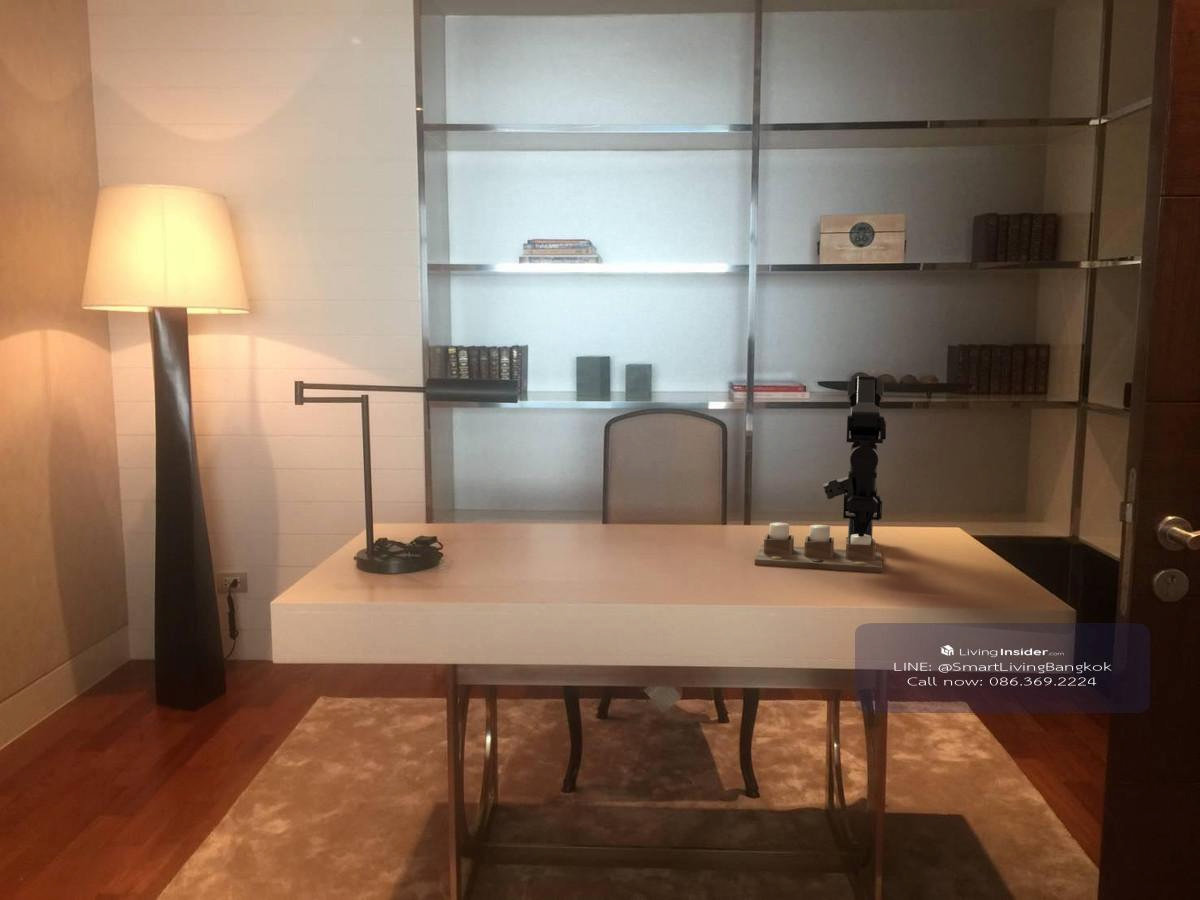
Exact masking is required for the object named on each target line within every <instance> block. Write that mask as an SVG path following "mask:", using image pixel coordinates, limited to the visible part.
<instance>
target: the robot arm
mask: <svg viewBox="0 0 1200 900" xmlns="http://www.w3.org/2000/svg"><path fill="white" fill-rule="evenodd" d="M883 400H884V382H883V381H881V380H879V379H878V377H877V376H875V375H857V376H855V378H854V379H853V380H851V381H848V382H847V402H849V405H850V407H849V408H850V414H849V415H847V419H846V420H847V421H846V424H847V425H846V443H851V446H850V457H849V461H850V462H849V463H850V464H849V470H848V476H845V477H841V478H837V479H836V478H834V479H832V480H828V482H825V483H823V486H822V487H823V490H824V493H825V495H826V498H827V500H832V499H834V498H835V497H840V496H842V495H843V514H842V516H843V519H845V520H846V519H848V527H847V528H848V530H847V532H848V533H847V537H846V539H845V541H846V540H847V538H849V539H851V535H852V534H858V536H864V534H865V535H870V536H871V540H875V539H874V538H873V527H874V524H873V523H874V521H879V520H882V514H883V500H881V497H880V496H881V495H878V487H877V477H878V470H877V469H878V464H879V455H878V449H879V448H878V446H877V444H883V443H884V440H886V439H887V438H886V436H887V421H886V420H885V417H884V415H881V409H880V406H881V403H882V402H884V401H883ZM880 402H881V403H880Z"/></svg>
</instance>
